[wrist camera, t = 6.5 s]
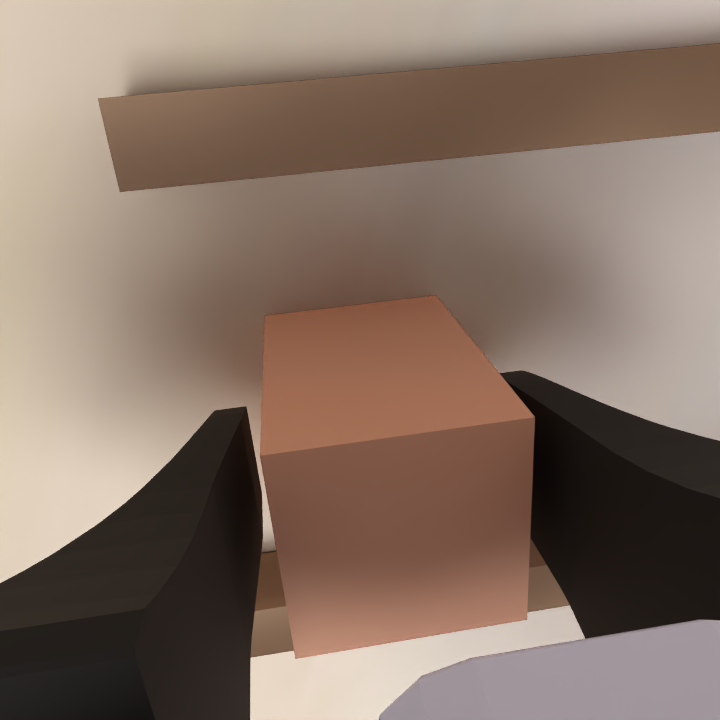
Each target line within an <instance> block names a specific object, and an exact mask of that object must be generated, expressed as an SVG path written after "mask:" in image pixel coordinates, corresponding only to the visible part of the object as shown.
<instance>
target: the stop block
mask: <svg viewBox="0 0 720 720" xmlns="http://www.w3.org/2000/svg"><path fill="white" fill-rule="evenodd" d="M534 430H535V417H534V415H533V414H532V413H531V412H530V410H529V409H528V408H527V407H526V405H525V404H524V403H523V402H522V401H521V399H520V398H519V397H518V396H517V394H516V393H515V392H514V391H513V389H512V388H511V387H510V386H509V385H508V383H507V382H506V381H505V380H504V378H503V377H502V376H501V375H500V374H499V372H498V371H497V370H496V369H495V367H494V366H493V365H492V364H491V362H490V361H489V360H488V359H487V358H486V356H485V355H484V354H483V353H482V351H481V350H480V349H479V348H478V346H477V345H476V344H475V343H474V342H473V340H472V339H471V338H470V337H469V335H468V334H467V333H466V332H465V331H464V329H463V328H462V327H461V326H460V324H459V323H458V322H457V321H456V319H455V318H454V317H453V316H452V315H451V313H450V312H449V311H448V310H447V308H446V307H445V306H444V305H443V303H442V302H441V301H440V300H439V299H438V297H437V296H436V295H434V296H426V297H418V298H409V299H401V300H392V301H384V302H375V303H367V304H359V305H350V306H342V307H333V308H325V309H316V310H308V311H300V312H291V313H283V314H274V315H266V316H265V325H264V354H263V383H262V413H261V442H260V458H261V464H262V470H263V476H264V481H265V487H266V493H267V498H268V504H269V510H270V516H271V521H272V527H273V533H274V539H275V544H276V550H277V556H278V561H279V567H280V573H281V579H282V584H283V590H284V596H285V601H286V607H287V613H288V619H289V624H290V630H291V636H292V641H293V647H294V653H295V659H297V658H303V657H309V656H315V655H321V654H327V653H333V652H338V651H344V650H350V649H356V648H362V647H368V646H374V645H380V644H386V643H391V642H397V641H403V640H409V639H415V638H421V637H427V636H433V635H439V634H444V633H450V632H456V631H462V630H468V629H474V628H480V627H486V626H492V625H497V624H503V623H509V622H515V621H521V620H527V606H528V581H529V556H530V530H531V505H532V480H533V455H534Z"/></svg>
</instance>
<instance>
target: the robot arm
mask: <svg viewBox="0 0 720 720" xmlns="http://www.w3.org/2000/svg"><path fill="white" fill-rule="evenodd" d="M499 374H500V375H501V376H502V377H503V378H504V380H505V381H506V382H507V383H508V385H509V386H510V387H511V388H512V389H513V391H514V392H515V393H516V394H517V396H518V397H519V398H520V399H521V401H522V402H523V403H524V404H525V405H526V407H527V408H528V409H529V410H530V412H531V413H532V414H533V415H534V417H535V430H534V455H533V480H532V505H531V530H530V538H531V540H532V541H533V543H534V545H535V546H536V548H537V550H538V551H539V553H540V555H541V556H542V558H543V560H544V561H545V563H546V565H547V566H548V568H549V570H550V571H551V573H552V574H553V576H554V578H555V579H556V581H557V583H558V584H559V586H560V588H561V590H562V592H563V593H564V595H565V597H566V599H567V601H568V603H569V604H570V606H571V608H572V610H573V612H574V615H575V617H576V619H577V621H578V623H579V625H580V628H581V630H582V632H583V634H584V636H585V638H586V639H582V640H576V641H570V642H564V643H558V644H552V645H546V646H540V647H534V648H528V649H522V650H516V651H511V652H505V653H499V654H493V655H487V656H481V657H475V658H470V659H467V660H464V661H461V662H459V663H456V664H453V665H450V666H448V667H445V668H442V669H440V670H437V671H434V672H431V673H429V674H426V675H423V676H421V677H420V678H419V679H418V680H417V681H416V682H415V683H414V684H412V685H411V686H410V687H409V688H408V689H407V690H406V691H405V692H404V693H403V694H402V695H401V696H399V697H398V698H397V699H396V700H395V701H394V702H393V703H392V704H391V705H390V706H389V707H388V708H387V709H386V710H385V711H384V712H383V713H382V714H381V715H380V717H379V720H720V441H718V440H714V439H709V438H705V437H702V436H698V435H695V434H691V433H688V432H684V431H680V430H677V429H673V428H670V427H667V426H663V425H660V424H657V423H654V422H651V421H648V420H646V419H643V418H640V417H637V416H635V415H632V414H629V413H626V412H624V411H621V410H618V409H616V408H613V407H611V406H608V405H606V404H603V403H601V402H598V401H596V400H594V399H591V398H589V397H587V396H584V395H582V394H580V393H577V392H575V391H573V390H570V389H568V388H566V387H564V386H561V385H559V384H557V383H554V382H552V381H550V380H547V379H545V378H542V377H540V376H537V375H535V374H532V373H529V372H526V371H514V372H506V373H499ZM262 540H263V516H262V491H261V486H260V480H259V475H258V469H257V463H256V458H255V452H254V447H253V441H252V436H251V430H250V424H249V419H248V413H247V408H246V407H239V408H231V409H223V410H216V411H214V412H213V413H212V414H211V415H210V416H209V418H208V419H207V420H206V421H205V422H204V423H203V425H202V426H201V427H200V428H199V429H198V430H197V432H196V433H195V434H194V435H193V436H192V437H191V439H190V440H189V441H188V442H187V443H186V444H185V445H184V446H183V447H182V449H181V450H180V451H179V452H178V453H177V454H176V455H175V456H174V457H173V459H172V460H171V461H170V462H169V463H168V464H167V465H165V466H164V467H163V468H162V469H161V470H160V471H159V472H158V473H157V474H156V475H155V476H154V477H153V478H152V479H151V480H150V481H149V482H148V483H147V484H146V485H145V486H144V487H143V488H142V489H141V490H140V491H139V492H137V493H136V494H135V495H134V496H133V497H132V498H130V499H129V500H128V501H127V502H126V503H125V504H123V505H122V506H121V507H119V508H118V509H117V510H116V511H114V512H113V513H112V514H111V515H109V516H108V517H107V518H105V519H104V520H103V521H101V522H100V523H99V524H97V525H96V526H95V527H93V528H91V529H90V530H88V531H87V532H85V533H84V534H82V535H81V536H79V537H78V538H76V539H75V540H73V541H72V542H70V543H69V544H67V545H66V546H64V547H63V548H61V549H60V550H58V551H57V552H55V553H54V554H52V555H50V556H49V557H47V558H45V559H44V560H42V561H40V562H38V563H37V564H35V565H33V566H31V567H30V568H28V569H26V570H24V571H23V572H21V573H19V574H17V575H15V576H13V577H11V578H9V579H8V580H6V581H4V582H2V583H0V720H250V657H251V642H252V631H253V622H254V613H255V604H256V595H257V586H258V577H259V568H260V559H261V550H262Z"/></svg>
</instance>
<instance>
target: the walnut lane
mask: <svg viewBox="0 0 720 720" xmlns="http://www.w3.org/2000/svg"><path fill="white" fill-rule="evenodd" d="M98 101H99V105H100V110H101V114H102V118H103V122H104V127H105V131H106V135H107V139H108V143H109V148H110V152H111V156H112V160H113V165H114V169H115V173H116V177H117V181H118V186H119V190H120V192H124V191H134V190H144V189H154V188H164V187H173V186H183V185H193V184H203V183H213V182H223V181H233V180H243V179H253V178H263V177H273V176H282V175H292V174H302V173H312V172H322V171H332V170H342V169H352V168H362V167H372V166H382V165H391V164H401V163H411V162H421V161H431V160H441V159H451V158H461V157H471V156H481V155H491V154H500V153H510V152H520V151H530V150H540V149H550V148H560V147H570V146H580V145H590V144H599V143H609V142H619V141H629V140H639V139H649V138H659V137H669V136H679V135H689V134H699V133H708V132H718V131H720V43H718V44H707V45H696V46H685V47H673V48H662V49H651V50H639V51H628V52H617V53H606V54H594V55H583V56H572V57H561V58H549V59H538V60H527V61H515V62H504V63H493V64H482V65H470V66H459V67H448V68H436V69H425V70H414V71H403V72H391V73H380V74H369V75H358V76H346V77H335V78H324V79H312V80H301V81H290V82H279V83H267V84H256V85H245V86H233V87H222V88H211V89H200V90H188V91H177V92H166V93H155V94H143V95H132V96H121V97H109V98H98ZM568 605H570V604H569V603H568V601H567V599H566V597H565V595H564V593H563V592H562V590H561V588H560V586H559V584H558V583H557V581H556V579H555V578H554V576H553V574H552V573H551V571H550V570H549V568H548V566H547V565H546V563H545V561H544V560H543V558H542V556H541V555H540V553H539V551H538V550H537V548H536V546H535V545H534V543H533V541H532V540H531V538H530V556H529V581H528V606H527V612H532V611H538V610H544V609H550V608H556V607H562V606H568ZM293 650H294V647H293V641H292V636H291V630H290V624H289V619H288V613H287V607H286V601H285V596H284V590H283V584H282V579H281V573H280V567H279V561H278V556H277V551H276V552H270V553H263V554H261V559H260V568H259V577H258V586H257V595H256V604H255V613H254V622H253V631H252V642H251V657H257V656H263V655H269V654H275V653H281V652H287V651H293ZM251 657H250V658H251Z"/></svg>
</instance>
